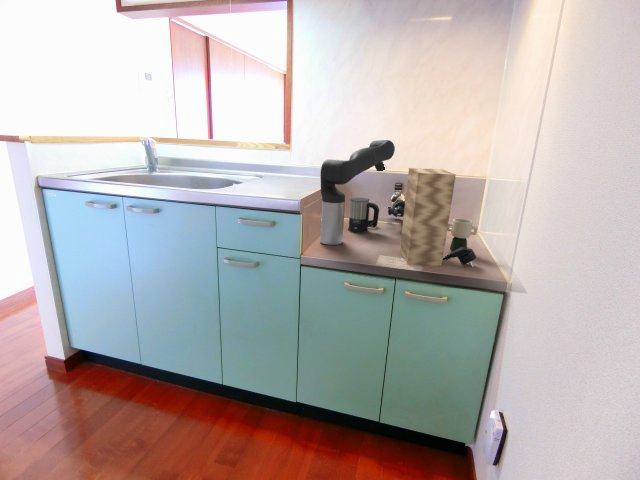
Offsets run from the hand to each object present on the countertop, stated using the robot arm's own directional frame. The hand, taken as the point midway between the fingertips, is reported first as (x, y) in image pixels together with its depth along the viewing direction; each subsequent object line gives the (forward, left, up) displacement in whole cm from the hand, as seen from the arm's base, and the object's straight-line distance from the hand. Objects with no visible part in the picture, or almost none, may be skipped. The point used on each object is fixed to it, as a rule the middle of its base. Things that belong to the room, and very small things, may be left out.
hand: (406, 215), depth 154 cm
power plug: (+12, -34, -9) cm, 37 cm away
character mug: (+17, -21, -9) cm, 29 cm away
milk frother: (-18, +7, -9) cm, 22 cm away
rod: (0, -5, -9) cm, 11 cm away
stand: (0, -30, -9) cm, 31 cm away
